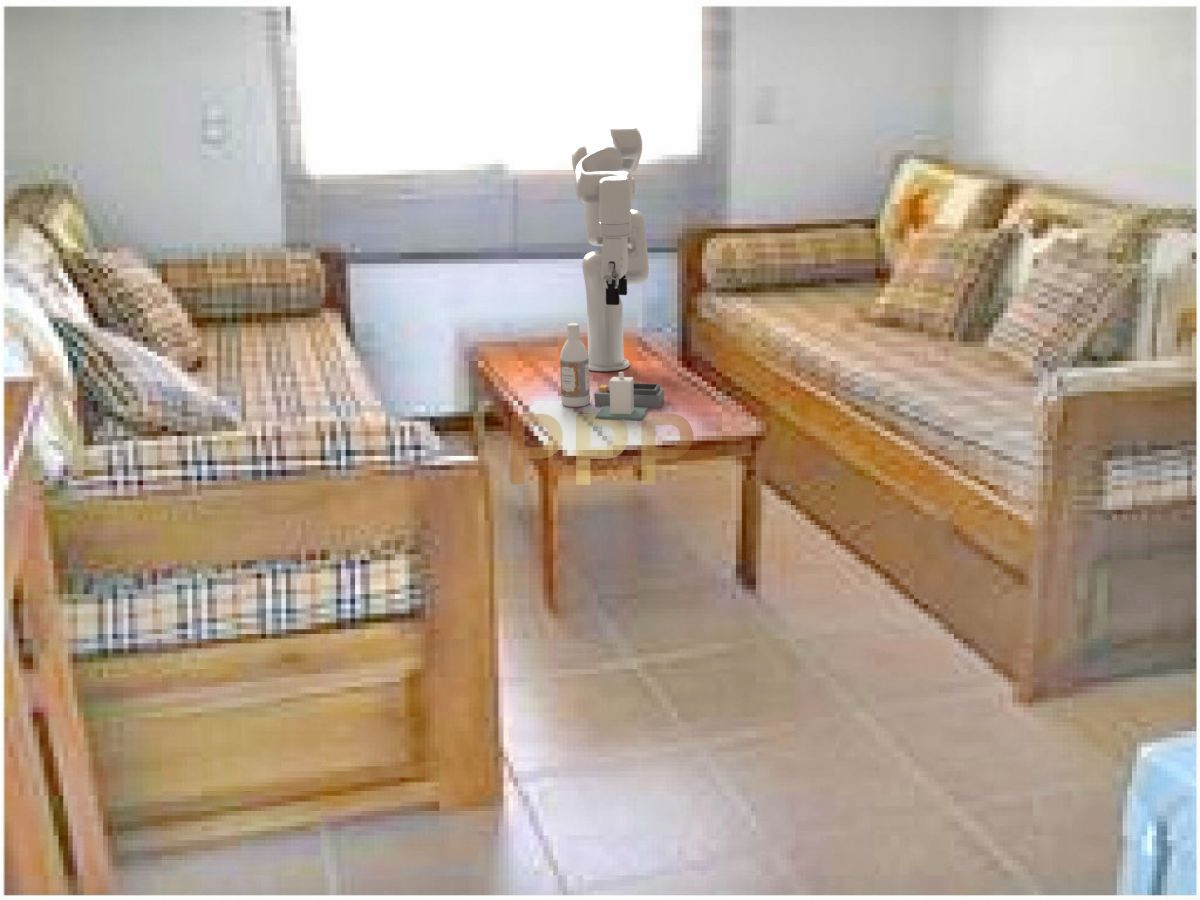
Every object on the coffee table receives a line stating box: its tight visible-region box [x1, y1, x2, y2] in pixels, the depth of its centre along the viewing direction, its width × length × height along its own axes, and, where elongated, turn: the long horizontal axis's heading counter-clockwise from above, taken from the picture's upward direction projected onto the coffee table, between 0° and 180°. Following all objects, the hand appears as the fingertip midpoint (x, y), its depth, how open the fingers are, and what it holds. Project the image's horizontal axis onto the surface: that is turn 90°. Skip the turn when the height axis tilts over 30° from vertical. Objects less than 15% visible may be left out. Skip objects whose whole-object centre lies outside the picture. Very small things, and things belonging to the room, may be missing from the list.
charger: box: [609, 371, 634, 414], centre depth 328 cm, size 4×5×10 cm
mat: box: [595, 406, 649, 421], centre depth 330 cm, size 9×11×1 cm
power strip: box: [594, 382, 665, 409], centre depth 339 cm, size 7×16×4 cm, turn 78°
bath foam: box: [559, 322, 591, 408], centre depth 337 cm, size 7×7×20 cm
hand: (616, 299), depth 335 cm, fingers open, 9 cm apart
